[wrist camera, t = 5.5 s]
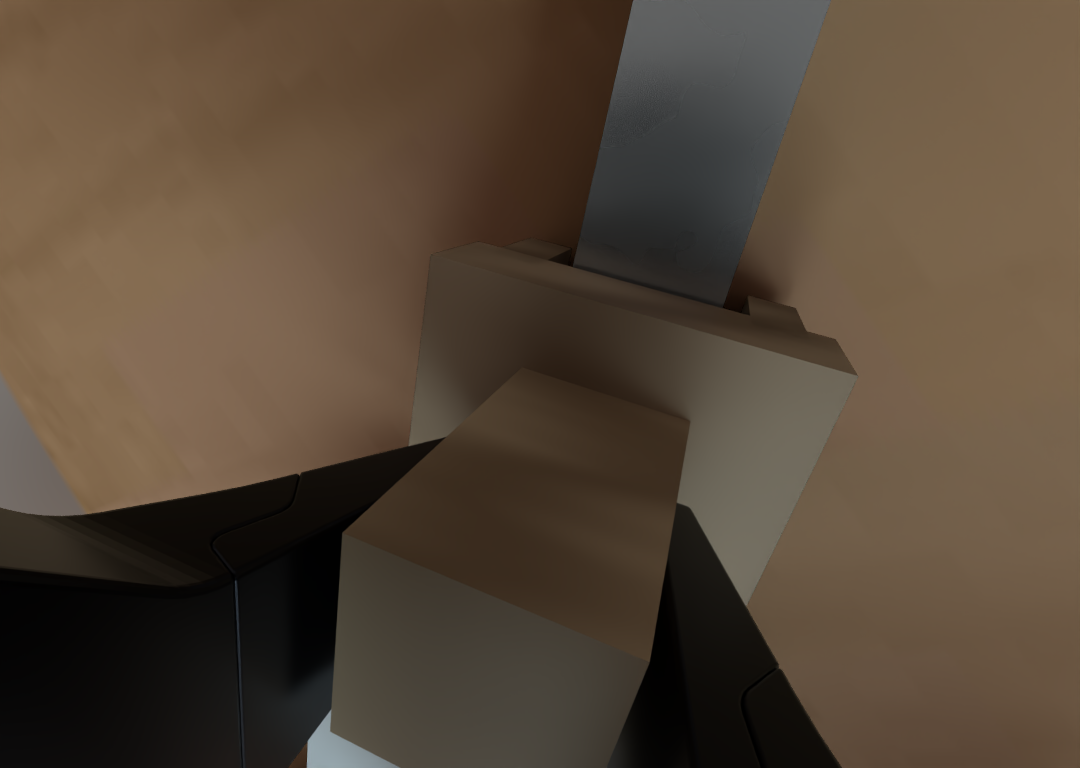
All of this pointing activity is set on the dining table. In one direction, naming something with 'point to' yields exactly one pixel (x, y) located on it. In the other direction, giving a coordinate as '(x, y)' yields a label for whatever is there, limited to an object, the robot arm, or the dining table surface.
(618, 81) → the rail
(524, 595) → the carriage
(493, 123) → the dining table surface
